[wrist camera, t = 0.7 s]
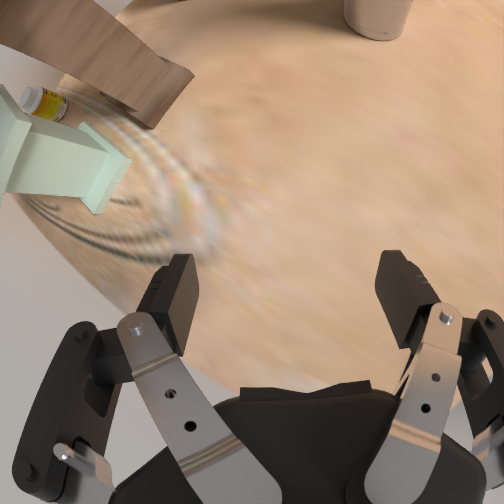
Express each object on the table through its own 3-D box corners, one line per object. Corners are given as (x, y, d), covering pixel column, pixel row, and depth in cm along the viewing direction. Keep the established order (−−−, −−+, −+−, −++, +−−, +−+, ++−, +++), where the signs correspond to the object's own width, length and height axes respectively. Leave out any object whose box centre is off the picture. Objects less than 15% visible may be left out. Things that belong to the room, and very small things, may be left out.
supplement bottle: (72, 100, 40) (36, 85, 30) (60, 125, 41) (22, 113, 31) (61, 95, 41) (26, 81, 31) (49, 118, 42) (14, 108, 32)
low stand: (59, 173, 42) (-39, 161, 20) (89, 116, 39) (-8, 81, 18) (102, 223, 40) (-19, 226, 19) (140, 157, 38) (17, 119, 16)
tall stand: (100, 100, 39) (-47, 40, 8) (141, 46, 36) (16, -45, 5) (153, 137, 37) (-48, 58, 6) (203, 73, 34) (55, -72, 3)
